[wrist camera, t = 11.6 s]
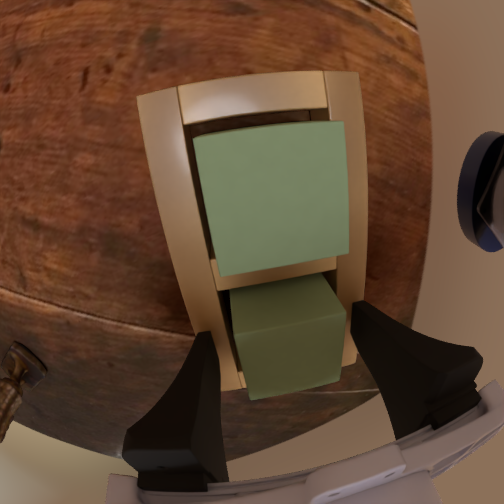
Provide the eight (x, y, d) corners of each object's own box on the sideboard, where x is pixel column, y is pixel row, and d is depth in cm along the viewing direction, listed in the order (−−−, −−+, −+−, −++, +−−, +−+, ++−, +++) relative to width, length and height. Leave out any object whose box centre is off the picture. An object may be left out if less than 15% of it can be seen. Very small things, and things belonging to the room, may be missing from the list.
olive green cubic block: (311, 257, 15) (347, 311, 11) (313, 322, 17) (340, 381, 13) (227, 272, 15) (233, 335, 11) (241, 336, 17) (250, 400, 13)
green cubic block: (300, 120, 12) (344, 120, 8) (309, 212, 14) (349, 253, 10) (201, 134, 12) (192, 137, 8) (218, 226, 14) (219, 278, 10)
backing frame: (336, 78, 11) (359, 71, 9) (342, 338, 18) (355, 363, 16) (150, 101, 11) (135, 96, 9) (215, 363, 18) (216, 392, 16)
